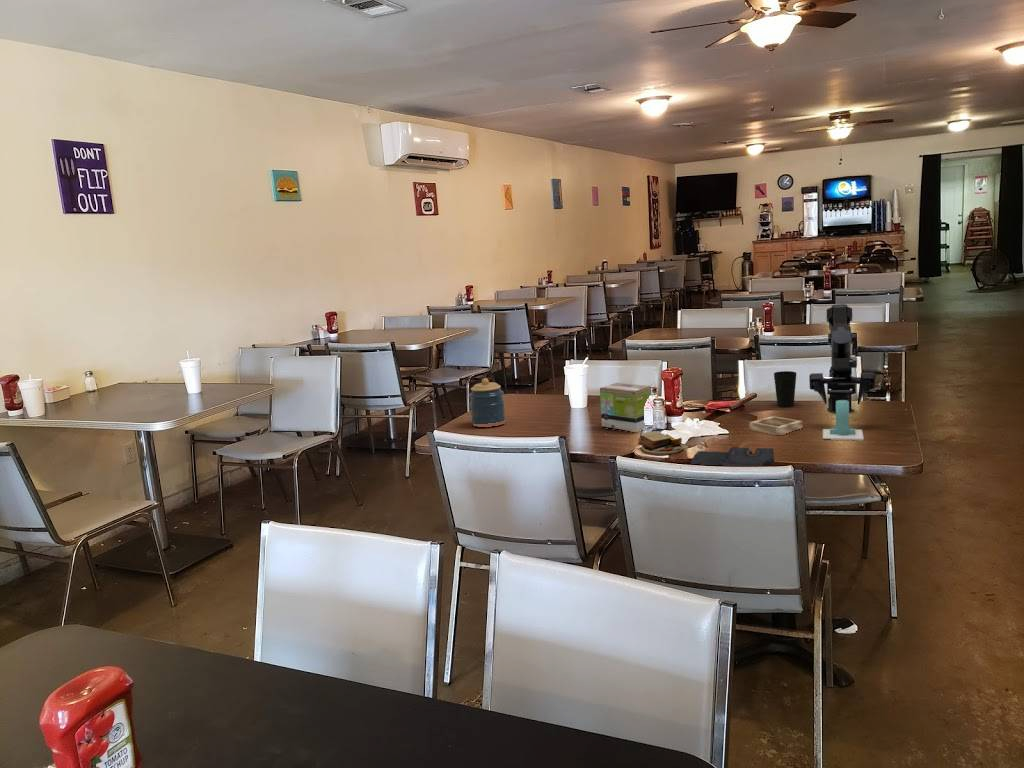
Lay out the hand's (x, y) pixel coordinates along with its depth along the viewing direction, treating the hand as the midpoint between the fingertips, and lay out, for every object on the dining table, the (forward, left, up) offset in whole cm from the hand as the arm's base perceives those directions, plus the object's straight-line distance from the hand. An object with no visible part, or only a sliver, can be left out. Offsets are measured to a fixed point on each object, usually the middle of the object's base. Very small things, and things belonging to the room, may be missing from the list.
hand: (842, 403), depth 231 cm
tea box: (+60, -31, -9) cm, 68 cm away
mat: (+3, +6, -8) cm, 11 cm away
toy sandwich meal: (+58, 0, -9) cm, 58 cm away
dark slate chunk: (+44, +22, -9) cm, 50 cm away
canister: (+106, -58, -9) cm, 121 cm away
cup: (-1, -40, -9) cm, 41 cm away
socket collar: (+17, -9, -8) cm, 21 cm away
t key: (+3, +6, -8) cm, 10 cm away
